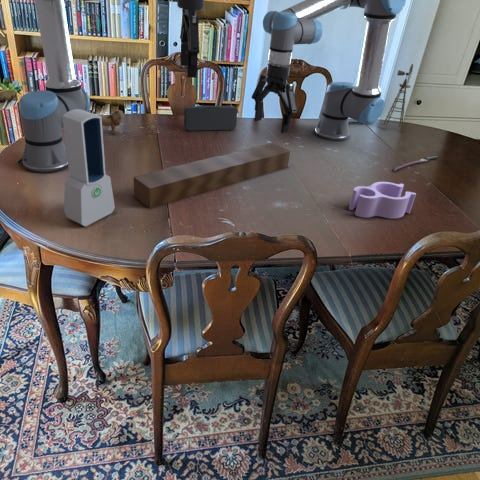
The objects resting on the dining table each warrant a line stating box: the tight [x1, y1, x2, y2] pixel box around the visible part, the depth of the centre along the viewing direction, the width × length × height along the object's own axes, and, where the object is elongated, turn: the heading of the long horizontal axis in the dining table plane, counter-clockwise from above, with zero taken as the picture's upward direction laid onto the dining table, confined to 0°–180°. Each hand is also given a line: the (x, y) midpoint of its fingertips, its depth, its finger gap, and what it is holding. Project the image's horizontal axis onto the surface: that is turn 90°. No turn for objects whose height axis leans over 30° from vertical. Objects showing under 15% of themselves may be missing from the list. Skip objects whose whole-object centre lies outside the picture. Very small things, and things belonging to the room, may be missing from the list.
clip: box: [348, 181, 417, 220], centre depth 152 cm, size 20×12×7 cm, turn 109°
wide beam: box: [133, 142, 291, 209], centre depth 159 cm, size 60×9×7 cm, turn 131°
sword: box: [393, 155, 441, 172], centre depth 190 cm, size 31×3×1 cm, turn 126°
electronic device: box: [63, 109, 116, 227], centre depth 126 cm, size 12×8×30 cm, turn 148°
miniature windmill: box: [383, 63, 414, 132], centre depth 220 cm, size 9×8×30 cm
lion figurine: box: [102, 109, 125, 135], centre depth 186 cm, size 15×5×9 cm, turn 110°
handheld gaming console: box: [183, 105, 239, 132], centre depth 200 cm, size 23×3×10 cm, turn 108°
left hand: (188, 71), depth 142 cm, fingers open, 13 cm apart
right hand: (270, 126), depth 166 cm, fingers open, 13 cm apart
